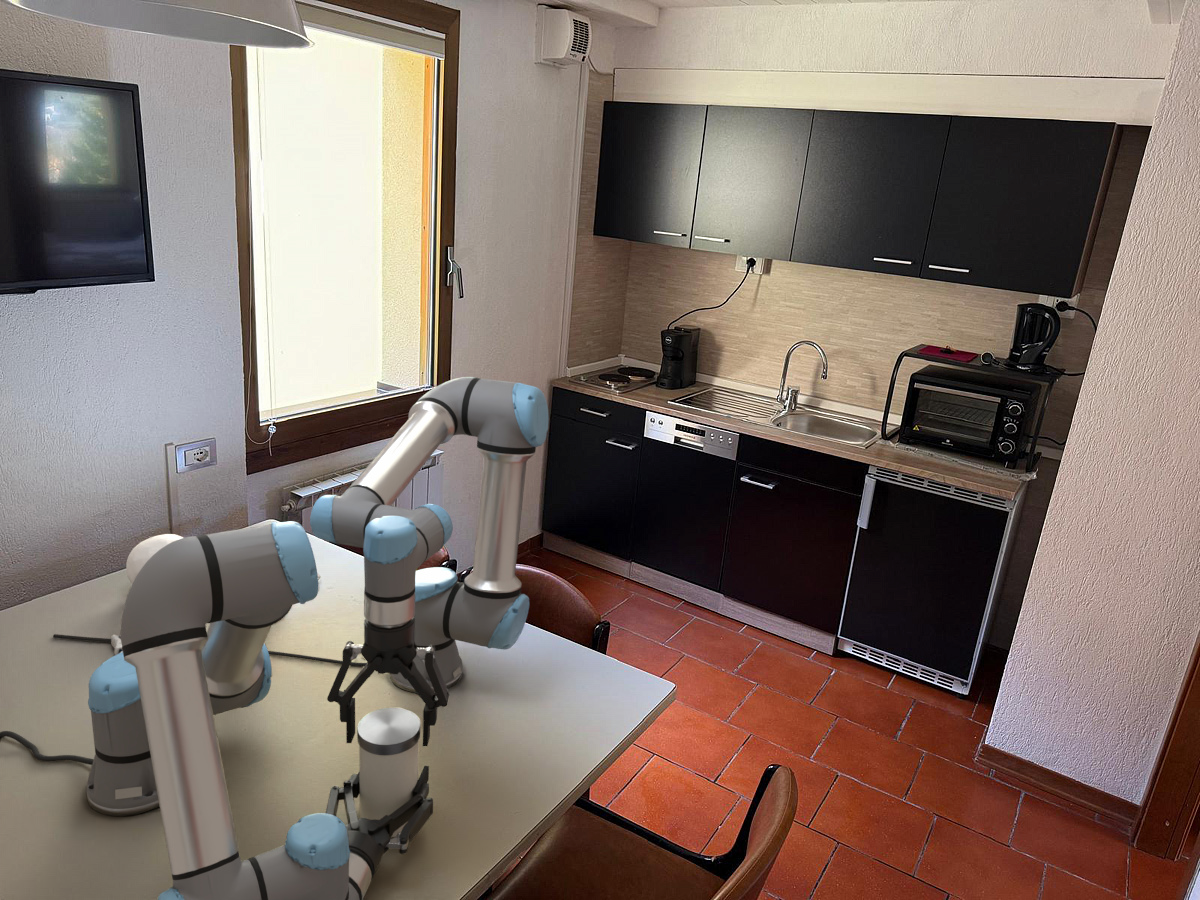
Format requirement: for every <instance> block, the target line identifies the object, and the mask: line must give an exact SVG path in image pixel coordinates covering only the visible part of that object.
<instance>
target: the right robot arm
mask: <svg viewBox="0 0 1200 900" xmlns="http://www.w3.org/2000/svg"><path fill="white" fill-rule="evenodd" d="M548 407H549V406H548V402H547V398H546V396H545V393H544V392H543V391H542V390H541V389H540V388H539V387H537V386H534V385H530V384H525V383H522V382H515V381H505V380H498V379H490V378H489V379H488V378H481V377H478V376H477V377H475V376H462V377H457V378H453V379H450V380H448V381H445V382H443V383H441V384H439V385H437V386H435V387H434V388H432V389H430V390H429V391H427V392H425V394H423V395H422V396H420V397H419V398H418V400H416V402H415V403H414V404H413V405H412V406H411V407H410V409H409V412H408V419H407V420H406V422H405V423H404V424H403V425H402V426H401V427H400V428H399V429H398V431H397V432H396V433H395V434H393V435H394V436H392V437H391V438H390V440H389V441H388V442H387V443H386V444H385V446H384V447H383V448H382V449H381V450H380V451H379V453H377V455H375V457H374V458H373V459H372V460H371V461H370V462H369V464H368V465H367V466H366V467H365V469H363V470H362V472H361V473H360V474H359V475H358V477H356V479H354V481H353V482H352V483H351V485H350V486H349V487H348V488H347V489H346V490H345V491H344V492H343V493H342V494H341V495H338V494H324V495H322V496H320V497H319V498H318V499H316V501H315V503H314V504H313V506H312V508H311V512H310V517H309V526H310V528H311V532H312V534H313V536H315V538H317V539H319V540H322V541H326V542H330V543H333V544H336V545H344V546H350V547H355V548H361V549H362V552H363V564H364V565H363V569H364V571H363V572H364V575H363V576H364V588H363V589H364V590H363V591H364V592H363V597H364V598H363V616H364V620H363V641H364V642H363V644H355V642H354V641H352V640H348V641H347V642H346V643H345V646H344V647H343V650H342V660H340V659H332V658H327V657H326V658H325V657H320V656H319V657H318V656H311V655H305V654H297V653H289V652H281V651H273V650H268V653H269V656H279V657H287V658H295V659H302V660H309V661H317V662H322V663H331V664H336V665H340V667H339V670H338V672H337V674H336V676H335V679H334V681H333V683H332V686H331V688H330V690H329V693H328V695H327V697H326V700H327V701H328V702H329V703H337V704H338V705H339V721H340V722H341V723H346V726H345V729H346V730H345V731H346V732H345V734H346V737H345V738H346V744H352V742H353V740H354V738H355V735H356V697H354V696H355V695H356V694H357V692H358V691H359V690H360V689H361V687H362V686H363V685H364V683H366V682H367V680H368V679H369V678H371V677H372V675H373V673H375V672H377V674H382V675H383V674H387V673H388V674H389V679H390V681H391V682H392V683H393V684H394V685H395V686H396V687H398V688H399V689H401V690H404V691H407V692H410V693H416V694H417V695H418V696H419V698H420V699H421V701H422V702H423V703H424V707H423V712H422V713H423V714H422V747H428V746H429V742H430V737H431V727H435V726H436V724H437V721H438V708H440V707H442V708H446V707H447V706H448V703H449V700H450V692H449V689H450V688H451V687H453V686H455V685H456V684H457V683H458V682H459V681H460V680H461V679H462V676H463V672H464V664H463V660H462V657H461V656H460V653H459V649H458V646H457V642H456V641H458V642H463V643H467V644H472V645H476V646H480V647H485V648H487V649H496V650H503V651H505V650H509V649H511V648H512V647H513V646H514V645H515V644H516V643H517V641H518V640H519V638H520V636H521V634H522V631H523V629H524V628H525V624H526V623H527V622H526V621H527V619H528V614H529V610H530V598H529V596H528V595H526V594H525V593H522V586H523V585H522V581H521V580H520V579H519V578H518V577H517V575H516V570H517V569H516V568H517V559H518V551H519V541H520V531H521V522H522V521H521V520H522V510H523V502H524V492H525V491H524V490H525V481H526V471H527V462H528V461H529V459H531V458H532V457H533V456H534V455H536V450H537V448H538V447H541V446H542V445H544V444H545V442H546V439H547V433H548V430H549V408H548ZM458 435H459V436H461V435H463V436H469V437H474V438H475V437H476V438H477V440H476V449H477V451H479V453H480V454H481V455H482V457H483V459H482V469H481V471H482V472H481V478H480V479H481V481H480V489H479V491H480V492H479V502H478V510H477V511H478V513H477V521H476V522H477V523H476V532H475V533H476V534H475V545H474V553H473V554H474V556H473V566H472V572H470V573H469V574H468V575H467V576H465V577H464V579H463V582H461V581H458V580H459V578H458V575H457V572H456V571H454V570H453V569H451V568H448V567H441V566H433V567H426V568H421V569H419V567H421V566H422V565H423V564H424V563H425V562H426V561H428V560H429V559H430V558H431V557H432V556H434V555H436V554H437V553H438V552H440V551H441V550H442V549H443V548H444V546H445V545H446V543H448V542H449V540H450V538H451V537H452V535H453V531H454V525H453V520H452V518H451V516H450V514H449V513H448V511H447V510H446V509H444V508H443V507H442V506H440V505H438V504H434V503H426V504H422V505H419V506H417V507H415V508H414V509H412V508H411V509H410V508H406V507H400V506H394V504H395V502H396V501H397V499H398V498H399V497H400V496H401V494H402V493H403V492H404V491H405V489H406V488H407V487H408V486H409V484H410V483H411V482H412V480H414V478H415V477H416V475H417V474H418V473H419V471H420V470H421V469H422V468H423V467H424V466H425V464H426V463H427V462H428V460H429V459H430V458H431V456H432V455H433V454H434V452H436V450H437V449H438V448H439V446H440V445H442V444H443V445H444V444H446V443H448V442H450V440H451V439H452V438H453V437H454V436H458ZM417 568H418V570H417V571H416V569H417ZM52 638H55V639H64V640H76V641H87V642H98V643H99V642H101V643H111V638H106V637H104V638H103V637H92V636H91V637H90V636H79V635H69V634H56V633H53V635H52ZM358 655H361V656H362V657H363V659H364V660H365V661H366V662H354V661H353V660H357V658H358ZM350 666H351V667H362V668H361V670H360V671H359V672H358V673H357V675H356V676H355V677H354V678H353V679H352V681H351V682H350V683H349V685H347V687H346V688H345V689H344V690H340V689H341V687H342V685H343V682H344V680H345V678H346V675H347V673H348V671H349V669H350Z"/></svg>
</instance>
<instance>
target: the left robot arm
mask: <svg viewBox="0 0 1200 900" xmlns="http://www.w3.org/2000/svg"><path fill="white" fill-rule="evenodd" d="M317 573H318V569H317V564H316V559H315V554H314V551H313V547H312V545H311V542H310V538H309V536H308V534H307V532H306V530H305V528H304V527H303V526H302V524H300V523H299V522H297V521H293V520H290V521H289V520H288V521H279V522H278V521H272V522H271V523H269V524H263V525H258V526H251V527H250V526H249V527H245V528H239V529H232V530H226V531H220V532H214V533H206V534H202V535H192V536H186V537H183V538H182V539H179V540H176V541H174V542H171V543H169V544H168V545H166V546H164V547H163V548H161V549H160V550H159V551H158V552H156V553H155V554H154V555H153V556H152V557H151V558H150V559H149V560H148V561H147V562H146V563H145V565H144V566H143V567H142V569H141V570H140V572H139V573H138V575H137V576H136V578H135V580H134V582H133V584H132V583H131V587H130V588H129V591H128V593H127V596H126V599H125V602H124V606H123V608H122V614H121V622H120V636H121V644H122V650H123V652H122V653H119V654H117V655H115V654H114V655H113V656H111V657H109V658H108V659H107V660H105V661H103V662H102V663H101V664H100V665H99V666H98V667H96V668H95V670H94V671H93V672H92V674H91V676H90V677H89V680H88V700H87V705H88V709H89V711H90V715H91V725H92V736H93V745H94V753H95V754H94V757H93V758H90V757H85V756H81V755H73V754H62V755H61V754H60V755H44V754H41V752H40V751H39V749H38V747H37V746H36V745H35V744H34V743H32V742H30V741H29V740H28V739H27V738H25V737H24V736H22V735H21V734H18V733H17V732H15V731H11V730H2V731H0V739H1V738H3V737H8V738H11V739H13V740H14V741H16V742H18V743H20V744H21V745H22V746H23V747H24V748H26V749H28V750H30V752H31V753H32V756H33V757H34V758H35V759H36V760H37V761H40V762H63V761H66V762H67V761H70V762H77V763H81V764H85V765H91V768H90V771H89V774H88V777H87V781H86V790H85V791H86V800H87V802H88V804H89V806H90V808H92V809H93V810H94V811H96V812H98V813H100V814H103V815H108V816H115V817H124V816H125V817H126V816H133V815H140V814H143V813H146V812H149V811H153V810H155V809H157V808H159V811H160V816H161V822H162V827H163V835H164V839H165V845H166V850H167V855H168V856H167V857H168V861H169V868H170V873H171V878H172V887H169V888H168V889H167V890H164V891H162V892H160V894H159V895H158V897H157V900H364V898H365V895H366V894H367V892H368V889H369V887H370V885H371V883H372V880H373V878H374V876H375V875H376V871H377V870H378V867H379V865H380V863H381V861H382V859H383V856H384V854H386V853H387V852H388V851H389V850H391V849H392V850H393V849H395V850H398V852H399V854H401V855H404V854H407V853H408V850H409V847H410V844H411V842H412V841H413V839H414V838H415V837H416V836H417V834H418V833H419V832H420V831H421V830H422V828H423V827H424V825H426V823H427V822H428V821H429V820H430V818H431V817H432V816H433V814H434V798H433V797H428V796H429V794H430V783H429V780H430V766H429V765H423V768H422V770H421V773H420V774H419V776H418V781H417V783H416V786H415V788H414V790H413V798H412V799H410V800H409V801H408V802H406V803H405V804H404V805H402V806H401V807H400V808H398V809H397V810H396V811H394V812H393V813H392V814H390V815H389V816H388V815H385V816H384V817H383V818H381V819H380V820H376V819H374V820H369V819H366V818H361V817H360V816H358V811H357V808H356V802H355V799H358V797H359V796H360V773H359V772H358V773H352V775H350V778H348V779H347V780H344V781H343V787H339V786H338V785H332V787H330V792H329V796H328V800H327V804H326V810H325V812H316V813H315V812H314V813H310V814H307V815H305V816H302V817H300V818H299V820H298V821H296V823H293V824H292V825H291V827H289V829H288V831H287V834H286V838H285V840H284V844H283V845H281V846H278V847H276V848H273V849H270V850H268V851H266V852H265V851H264V852H263V853H260V854H257V855H255V856H252V857H250V858H247V859H244V860H241V856H240V852H239V851H240V849H239V843H238V839H237V834H236V828H235V827H236V826H235V823H234V818H233V811H232V806H231V802H230V796H229V790H228V786H227V780H226V775H225V770H224V765H223V759H222V754H221V748H220V743H219V737H218V733H217V727H216V722H215V717H214V716H216V715H220V714H222V713H226V712H230V711H233V710H236V709H244V708H248V707H250V706H252V705H253V704H256V703H259V702H261V701H263V700H264V699H265V698H266V697H267V695H268V694H269V691H270V690H271V686H272V679H271V678H272V676H273V675H272V673H273V670H272V668H273V667H272V660H271V655H270V654H269V653H268V651H269V650H268V648H267V645H266V639H267V638H268V635H269V633H270V631H271V629H272V626H274V625H276V624H278V623H279V622H281V621H282V620H283V619H284V618H285V617H286V616H287V615H288V613H289V612H290V611H291V609H292V607H293V605H297V604H301V605H305V604H306V603H307V602H310V601H314V599H316V598H317V596H318V593H319V580H318V574H319V573H318V574H317ZM207 624H209V626H208V629H207ZM264 642H265V644H264ZM340 801H343V804H344V810H345V815H346V821H347V824H345V823H344V822H343V820H341V818H340V817H338V816H337V813H338V809H339V803H340ZM406 822H407V823H406ZM405 823H406V824H405ZM404 824H405V826H404V827H403V829H402V831H401V832H398V833H397V835H396V836H395V837H391V836H392V835H393V833H394V832H395V831H396V830H397V829H399V828H400V827H401V826H402V825H404ZM390 837H391V838H390Z"/></svg>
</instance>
